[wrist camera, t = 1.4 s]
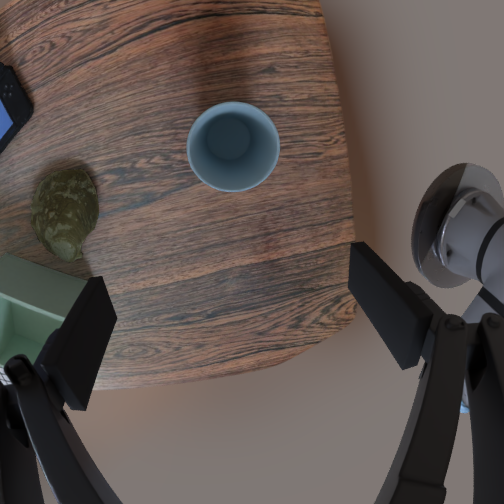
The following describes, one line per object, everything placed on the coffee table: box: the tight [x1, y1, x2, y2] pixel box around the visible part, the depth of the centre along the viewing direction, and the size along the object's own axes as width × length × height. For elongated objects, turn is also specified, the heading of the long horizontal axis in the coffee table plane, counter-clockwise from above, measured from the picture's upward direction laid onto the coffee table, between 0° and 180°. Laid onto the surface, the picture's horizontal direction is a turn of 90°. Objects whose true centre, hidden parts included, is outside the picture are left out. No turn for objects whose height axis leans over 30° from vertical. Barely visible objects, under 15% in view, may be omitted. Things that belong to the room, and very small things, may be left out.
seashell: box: [30, 169, 99, 263], centre depth 33 cm, size 10×7×10 cm
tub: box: [0, 253, 88, 368], centre depth 36 cm, size 17×17×9 cm
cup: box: [187, 102, 280, 192], centre depth 29 cm, size 8×8×10 cm
